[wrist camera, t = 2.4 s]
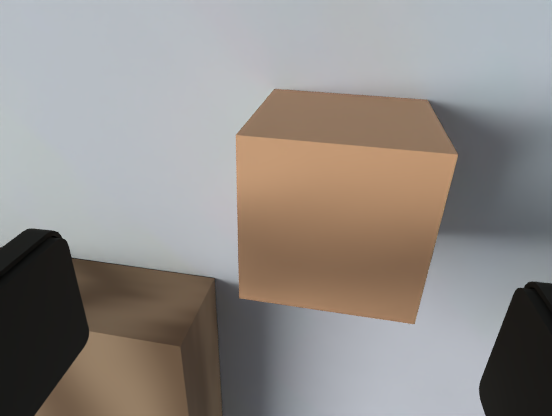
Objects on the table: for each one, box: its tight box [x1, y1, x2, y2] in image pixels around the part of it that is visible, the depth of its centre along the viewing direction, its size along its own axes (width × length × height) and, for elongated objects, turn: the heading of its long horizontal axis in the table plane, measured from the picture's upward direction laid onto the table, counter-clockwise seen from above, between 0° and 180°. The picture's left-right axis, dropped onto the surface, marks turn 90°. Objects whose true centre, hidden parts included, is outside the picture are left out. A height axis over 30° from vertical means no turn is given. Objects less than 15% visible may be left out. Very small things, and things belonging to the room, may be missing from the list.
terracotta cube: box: [236, 89, 458, 324], centre depth 13 cm, size 5×5×5 cm
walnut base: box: [0, 248, 222, 416], centre depth 20 cm, size 12×12×4 cm
